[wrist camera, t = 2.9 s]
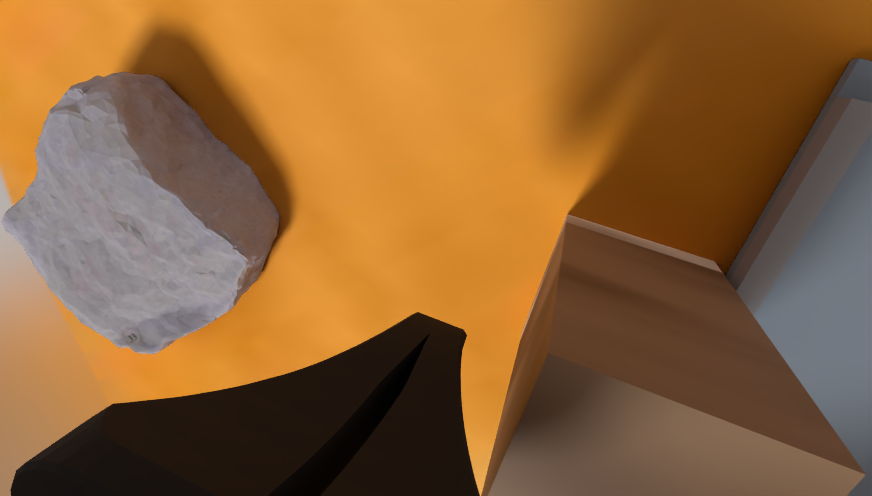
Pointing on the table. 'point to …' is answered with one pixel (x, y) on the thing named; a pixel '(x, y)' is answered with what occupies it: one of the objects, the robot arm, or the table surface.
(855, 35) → the table surface
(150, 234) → the stone block
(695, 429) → the walnut block
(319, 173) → the table surface
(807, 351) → the tipping mat
